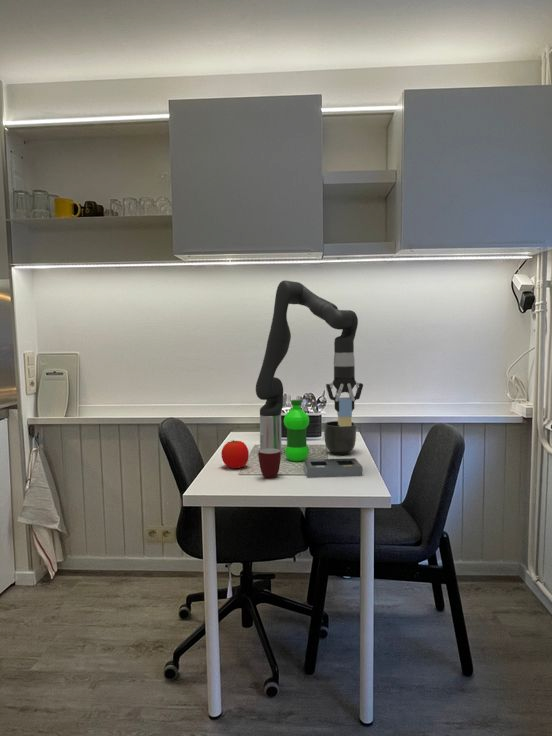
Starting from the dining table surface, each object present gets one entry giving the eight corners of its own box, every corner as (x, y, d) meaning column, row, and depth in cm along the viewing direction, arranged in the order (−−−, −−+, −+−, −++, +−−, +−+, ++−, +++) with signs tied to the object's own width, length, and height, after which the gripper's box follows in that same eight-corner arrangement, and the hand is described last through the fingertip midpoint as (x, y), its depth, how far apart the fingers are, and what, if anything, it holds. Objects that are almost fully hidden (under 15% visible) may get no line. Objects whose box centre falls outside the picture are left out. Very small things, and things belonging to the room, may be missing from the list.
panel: (307, 479, 178) (307, 467, 178) (303, 470, 190) (303, 459, 190) (362, 477, 179) (362, 466, 179) (355, 468, 191) (355, 457, 191)
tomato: (250, 463, 200) (249, 437, 200) (247, 471, 190) (246, 443, 189) (224, 463, 201) (223, 437, 200) (219, 471, 191) (219, 443, 190)
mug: (261, 472, 187) (261, 446, 186) (283, 473, 186) (282, 446, 185) (257, 481, 177) (256, 453, 176) (279, 481, 176) (279, 453, 175)
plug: (339, 426, 181) (339, 399, 181) (337, 424, 186) (337, 397, 185) (351, 426, 182) (351, 398, 181) (349, 424, 186) (349, 397, 185)
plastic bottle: (302, 465, 197) (301, 402, 195) (279, 462, 203) (278, 401, 201) (314, 459, 205) (313, 399, 204) (292, 456, 211) (291, 398, 209)
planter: (328, 448, 225) (328, 420, 224) (359, 450, 220) (359, 421, 219) (320, 455, 212) (320, 425, 211) (352, 458, 207) (352, 427, 206)
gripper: (326, 365, 178) (326, 413, 179) (365, 365, 179) (366, 412, 180) (323, 364, 186) (323, 410, 187) (361, 363, 186) (361, 409, 187)
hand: (344, 410), depth 183 cm, fingers closed on plug, 4 cm apart
